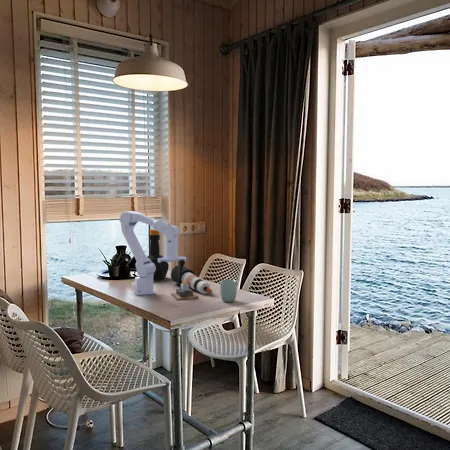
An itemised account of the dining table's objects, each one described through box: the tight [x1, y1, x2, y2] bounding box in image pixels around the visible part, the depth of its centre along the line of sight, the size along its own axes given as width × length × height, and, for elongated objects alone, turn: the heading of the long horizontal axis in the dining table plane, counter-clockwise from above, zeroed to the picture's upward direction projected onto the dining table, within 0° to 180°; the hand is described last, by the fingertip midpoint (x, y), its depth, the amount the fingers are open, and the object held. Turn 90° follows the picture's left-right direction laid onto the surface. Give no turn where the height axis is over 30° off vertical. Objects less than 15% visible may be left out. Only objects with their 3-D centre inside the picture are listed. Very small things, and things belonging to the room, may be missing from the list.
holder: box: [170, 287, 199, 301], centre depth 223 cm, size 11×11×4 cm
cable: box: [170, 265, 213, 295], centre depth 239 cm, size 10×34×10 cm, turn 35°
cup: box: [219, 279, 238, 303], centre depth 215 cm, size 8×8×10 cm
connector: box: [180, 281, 190, 291], centre depth 223 cm, size 3×4×7 cm
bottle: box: [146, 228, 170, 282], centre depth 265 cm, size 16×16×30 cm
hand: (172, 275), depth 224 cm, fingers open, 7 cm apart
